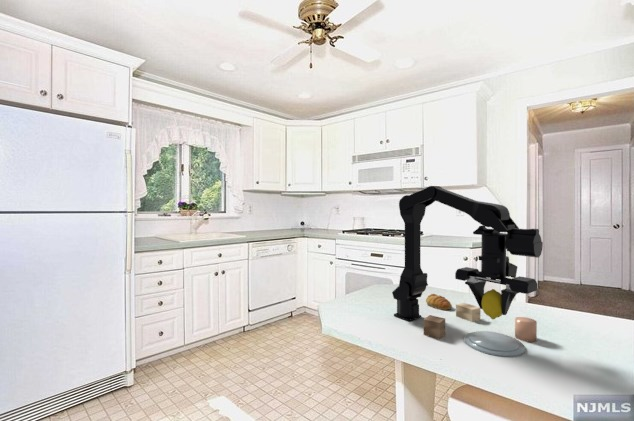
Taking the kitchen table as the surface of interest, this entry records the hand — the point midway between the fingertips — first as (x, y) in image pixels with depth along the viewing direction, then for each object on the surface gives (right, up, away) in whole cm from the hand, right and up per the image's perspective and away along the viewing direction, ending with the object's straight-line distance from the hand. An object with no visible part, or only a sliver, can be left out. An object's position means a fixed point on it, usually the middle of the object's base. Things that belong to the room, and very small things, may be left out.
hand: (493, 311), depth 86 cm
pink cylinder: (+11, -9, +4) cm, 14 cm away
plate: (0, -9, 0) cm, 9 cm away
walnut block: (-13, -9, +7) cm, 17 cm away
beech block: (+3, -8, +20) cm, 22 cm away
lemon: (0, -2, 0) cm, 2 cm away
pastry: (-2, -8, +32) cm, 34 cm away
